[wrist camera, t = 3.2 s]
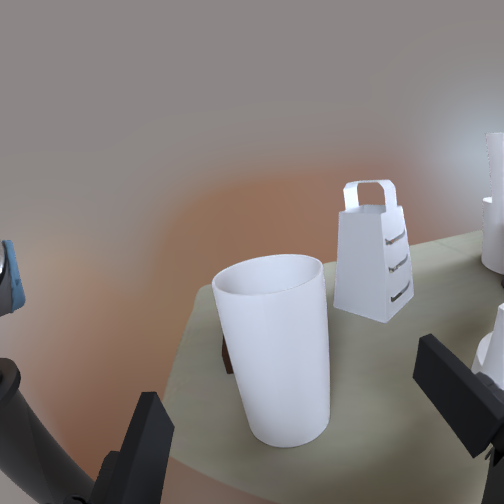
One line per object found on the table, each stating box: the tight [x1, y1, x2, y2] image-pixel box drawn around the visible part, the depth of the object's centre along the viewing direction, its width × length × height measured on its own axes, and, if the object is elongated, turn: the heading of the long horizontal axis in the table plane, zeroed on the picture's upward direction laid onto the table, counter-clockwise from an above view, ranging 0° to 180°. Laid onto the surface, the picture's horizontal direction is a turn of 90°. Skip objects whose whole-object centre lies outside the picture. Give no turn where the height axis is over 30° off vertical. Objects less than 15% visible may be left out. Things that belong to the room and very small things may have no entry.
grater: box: [333, 180, 414, 324], centre depth 41 cm, size 10×10×20 cm
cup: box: [212, 254, 330, 447], centre depth 22 cm, size 8×8×16 cm
